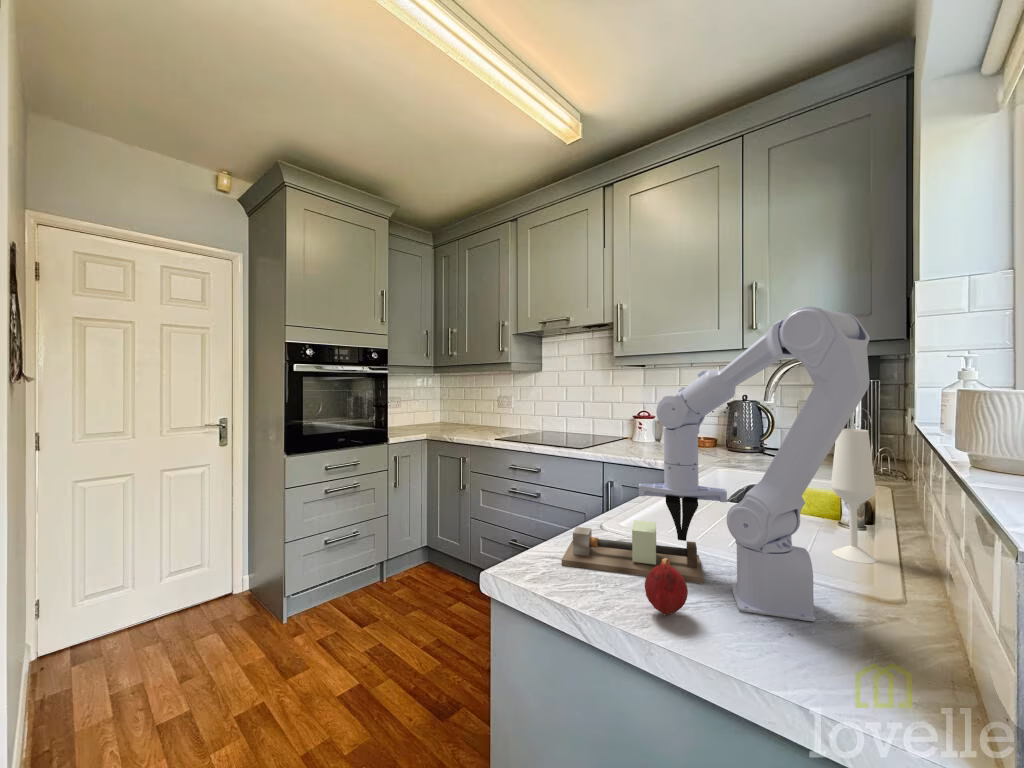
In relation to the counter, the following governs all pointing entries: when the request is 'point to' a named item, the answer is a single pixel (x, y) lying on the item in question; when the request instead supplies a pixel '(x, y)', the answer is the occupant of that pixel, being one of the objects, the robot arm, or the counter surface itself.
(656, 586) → the onion
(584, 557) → the cord board
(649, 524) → the sleeve
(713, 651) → the counter surface
